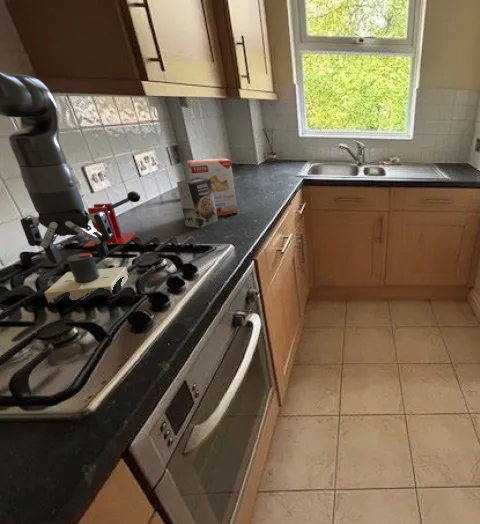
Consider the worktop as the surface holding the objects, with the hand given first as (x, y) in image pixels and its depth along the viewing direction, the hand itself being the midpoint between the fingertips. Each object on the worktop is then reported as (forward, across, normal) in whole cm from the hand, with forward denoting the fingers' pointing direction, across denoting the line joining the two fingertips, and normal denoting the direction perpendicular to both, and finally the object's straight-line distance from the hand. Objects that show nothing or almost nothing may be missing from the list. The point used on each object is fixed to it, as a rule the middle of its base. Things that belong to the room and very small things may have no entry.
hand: (81, 259), depth 73 cm
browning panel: (+8, 0, 0) cm, 8 cm away
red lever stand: (+8, +6, -31) cm, 33 cm away
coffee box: (+8, -18, -43) cm, 47 cm away
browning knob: (+5, 0, 0) cm, 5 cm away
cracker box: (+8, -22, -55) cm, 60 cm away
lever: (-3, +1, -31) cm, 31 cm away
